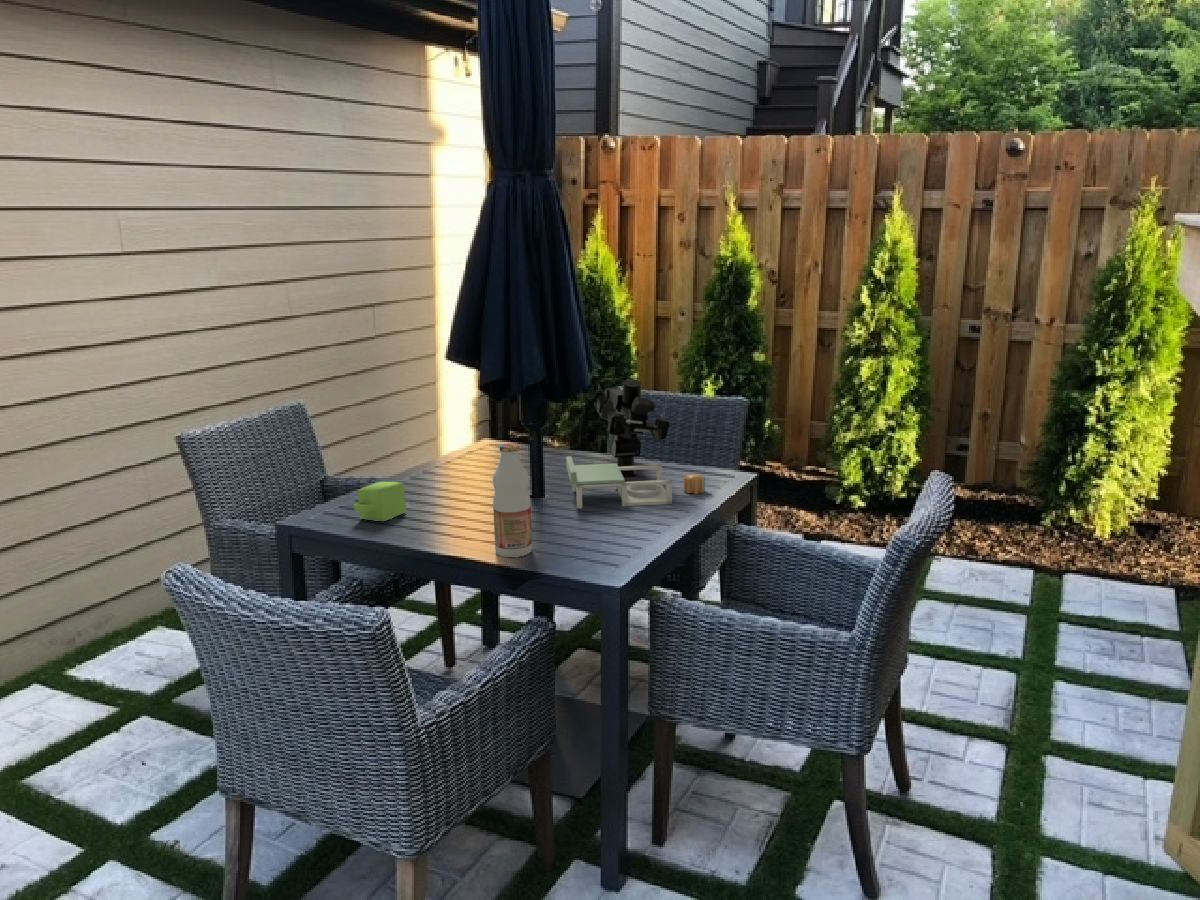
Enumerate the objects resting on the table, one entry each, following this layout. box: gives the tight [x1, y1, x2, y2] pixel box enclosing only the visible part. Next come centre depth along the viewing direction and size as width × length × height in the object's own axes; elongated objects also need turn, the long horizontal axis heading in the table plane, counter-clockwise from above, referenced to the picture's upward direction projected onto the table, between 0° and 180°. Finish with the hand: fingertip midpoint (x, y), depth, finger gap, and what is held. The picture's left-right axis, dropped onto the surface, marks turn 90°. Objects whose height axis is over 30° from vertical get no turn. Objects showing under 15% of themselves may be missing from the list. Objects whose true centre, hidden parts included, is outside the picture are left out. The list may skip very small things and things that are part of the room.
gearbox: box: [353, 481, 407, 521], centre depth 273 cm, size 18×10×10 cm, turn 154°
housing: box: [571, 464, 673, 509], centre depth 287 cm, size 19×28×7 cm
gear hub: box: [683, 473, 706, 495], centre depth 292 cm, size 6×6×5 cm
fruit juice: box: [492, 442, 533, 558], centre depth 239 cm, size 9×9×28 cm
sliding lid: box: [565, 455, 626, 485], centre depth 285 cm, size 19×16×4 cm
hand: (645, 438), depth 285 cm, fingers open, 9 cm apart
